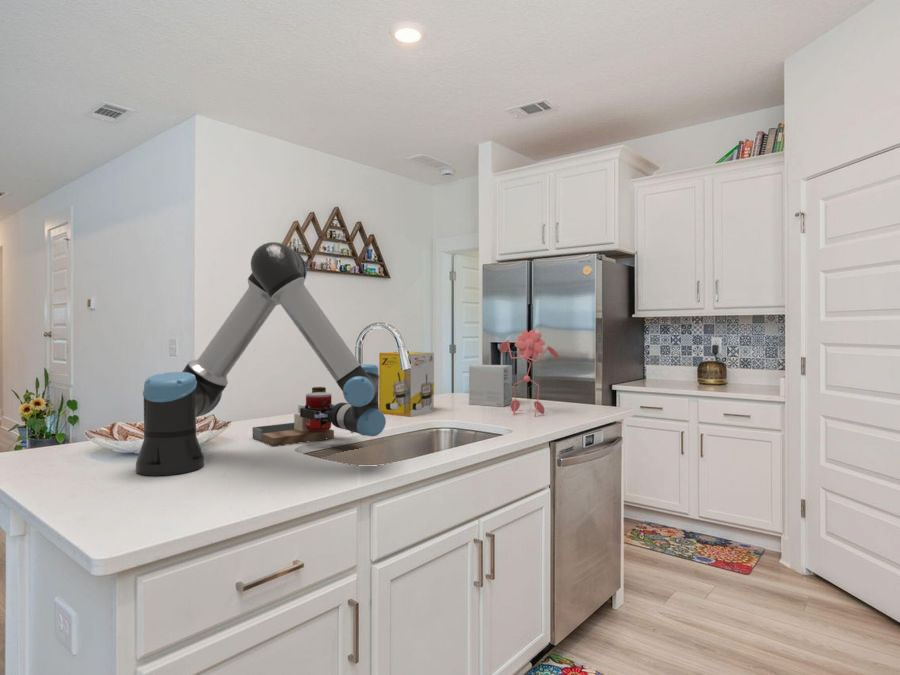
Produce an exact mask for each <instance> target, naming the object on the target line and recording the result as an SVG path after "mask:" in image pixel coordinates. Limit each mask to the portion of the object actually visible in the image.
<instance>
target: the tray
mask: <svg viewBox="0 0 900 675" xmlns="http://www.w3.org/2000/svg"><path fill="white" fill-rule="evenodd" d="M287 430H295V429H294V422H287V423H277V424H269V425H261V426H253V427H252V439H253V438H254V439H253V440H256V441H258V440H259V442H261V434H263V433H271V432H279V431H287Z"/></svg>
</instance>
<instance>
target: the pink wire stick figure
mask: <svg viewBox="0 0 900 675" xmlns="http://www.w3.org/2000/svg"><path fill="white" fill-rule="evenodd" d="M541 337H542V333H541V332H540V331H539V332H536V330H535V329H531V330H529V331H528V330H527V329H523V330H522V332H521V334H518V335H517V341H516V342H514V346H515V347H516V349H518V351H517V354H518V355H519V356H516V357H515V356H514V357H513V356H512V352H511V346H510V345H511V344H510V340H505V341H503V342H502V343H501V344H500V346H499V352H500V354H503V353H505V352H507V351H508V352H509V355H510V359H511V360H512V359H513V360H515V359H525V360H526V361H527V362H528V364H529V365H528V369H527V370H528V371H527V373H526V375H524V376H523V379H521V380H520V381H518V382H516V383H514V384H512V389H513V395H514V396H513V397H514V400H512V403H511V404H510V409H511V412H512V415H513V416H514V415H515V414H516V412H517V411H518V412H523V410H521V409H519V408H520V406H521V405H520V400H518V399H517V398H516V392H515V386H516V385H517V384H520V383H522V382H523V381H524V382H526V383H529V382H532V383H534V384H535V385H536V386H538V388H537V399H536V400H535V401H534V402H533V405H534V408H535V409H534V417H535V418H536V416H537V412H539V413H540V414H541V415H544V414H545V407H544V405H543V404H542V403H541V402H540V401H539V396H540V385H539V384H538V383H536V381H535V382H534V380H532V379H531V376H529V372H530V369H531V366H532V363H531V361H533V362H536V363H538V362H539V361H540V359H541V358H542V357H543V356H544V354H545V353H546V351H548V352H549V354H550V355H552V357H554V358H555V359H557V360H560V355H559V353H558V352H557V351H556V350H555V349H554V348H553V347H552V346H550V345H547V347H546V348H545V349H544V347H543V346H544V345H545V344H546V341H544V340H543V339H542V338H541ZM539 354H540V356H539ZM520 355H521V356H520ZM538 356H539V357H538ZM531 357H532V358H531ZM535 359H536V360H535Z"/></svg>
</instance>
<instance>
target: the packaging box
mask: <svg viewBox="0 0 900 675" xmlns="http://www.w3.org/2000/svg"><path fill="white" fill-rule="evenodd" d="M398 352H399V351H386V352H384V351H383V352H379V354H378V355H379V358H378V360H379V364H378V365H379V366H378V374H379V389H378V404H379V410H380V411H381V412H382V413H383V414H384V415H392V416H402V417H408V418H409V417H410V418H411V417H416V416H422V415H425V414H430V412H431V413H433V412H434V409H435V408H434V407H435V406H434V405H435V404H434V402H435V401H434V400H435V399H434V397H435V395H434V394H435V387H434V386H435V352H431V351H430V352H427V351H425V352H424V351H408V352H409V356H410V360H411V364H412V366H411V369H410V370H409V371H402V370H401V367H400V359H399V353H398Z"/></svg>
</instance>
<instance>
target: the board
mask: <svg viewBox="0 0 900 675" xmlns="http://www.w3.org/2000/svg"><path fill="white" fill-rule="evenodd" d="M334 434H335V430H333V429H332V428H330V429H328V430H320V431H314V430H306V431H300V430H287V431H279V432H271V433H263V434H261V441H260V443H263V442H264V444H265V443H266V444H265V445H268V444H269V445H268V446H270V445H271V446H270V447H273V446H274V447H280V446H279V445H281V446H286V445H285V444H289V445H294V444H293V443H296V444H300V443H299V442H303V443H308V442H307V441H310V442H315V441H314V440H318V441H321V440H320V439H325V440H327V439H326V438H332V439H335V435H334Z"/></svg>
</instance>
